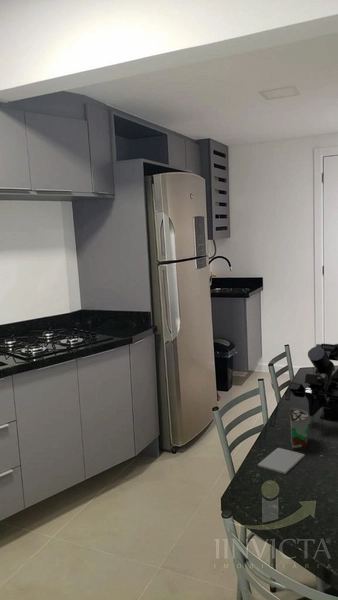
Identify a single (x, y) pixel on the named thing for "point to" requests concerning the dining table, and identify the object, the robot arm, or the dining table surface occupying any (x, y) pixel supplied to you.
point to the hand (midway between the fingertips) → (310, 415)
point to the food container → (299, 428)
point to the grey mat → (281, 460)
